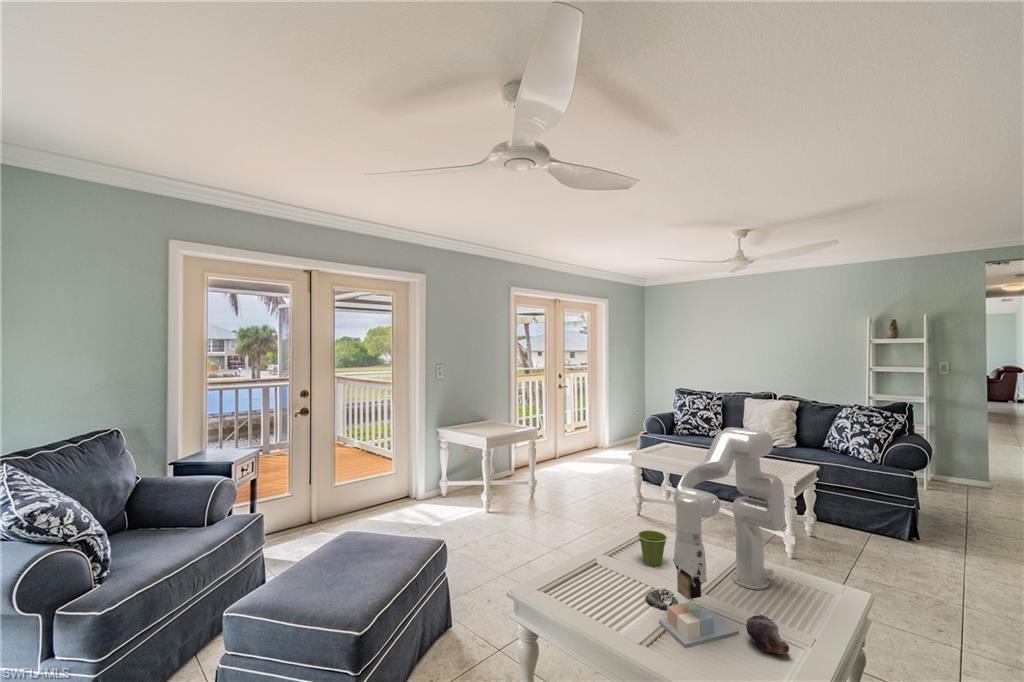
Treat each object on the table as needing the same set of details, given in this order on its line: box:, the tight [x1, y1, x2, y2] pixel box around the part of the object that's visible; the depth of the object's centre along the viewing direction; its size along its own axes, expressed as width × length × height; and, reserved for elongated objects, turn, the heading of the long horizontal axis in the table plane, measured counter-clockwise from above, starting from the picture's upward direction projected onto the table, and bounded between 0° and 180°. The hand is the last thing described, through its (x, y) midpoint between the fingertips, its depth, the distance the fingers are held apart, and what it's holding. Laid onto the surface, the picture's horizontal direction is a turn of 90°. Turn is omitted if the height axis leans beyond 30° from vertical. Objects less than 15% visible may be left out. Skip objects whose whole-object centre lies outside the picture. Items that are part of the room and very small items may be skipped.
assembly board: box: [658, 608, 740, 649], centre depth 146 cm, size 20×13×1 cm, turn 108°
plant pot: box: [637, 529, 668, 567], centre depth 191 cm, size 12×12×11 cm
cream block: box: [677, 612, 700, 640], centre depth 142 cm, size 5×5×5 cm
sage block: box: [679, 600, 703, 612], centre depth 149 cm, size 5×5×5 cm
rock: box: [745, 614, 790, 655], centre depth 137 cm, size 12×9×10 cm
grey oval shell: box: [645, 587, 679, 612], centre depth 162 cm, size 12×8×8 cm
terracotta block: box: [666, 603, 689, 630], centre depth 147 cm, size 5×5×5 cm
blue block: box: [690, 608, 714, 636], centre depth 144 cm, size 5×5×5 cm
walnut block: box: [676, 572, 702, 600], centre depth 145 cm, size 5×5×6 cm
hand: (689, 592), depth 145 cm, fingers closed on walnut block, 5 cm apart
